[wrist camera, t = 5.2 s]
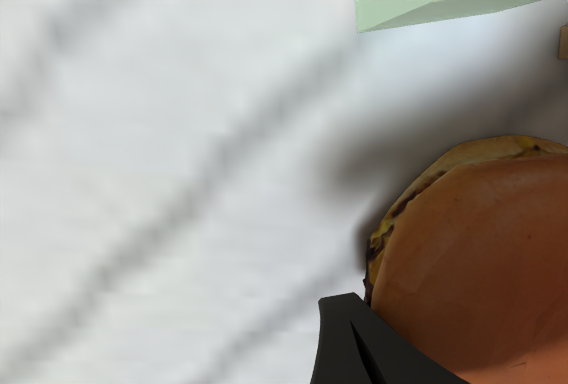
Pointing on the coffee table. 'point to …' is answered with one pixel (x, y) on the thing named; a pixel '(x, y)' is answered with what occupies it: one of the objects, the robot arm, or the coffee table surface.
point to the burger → (480, 262)
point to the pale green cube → (423, 11)
